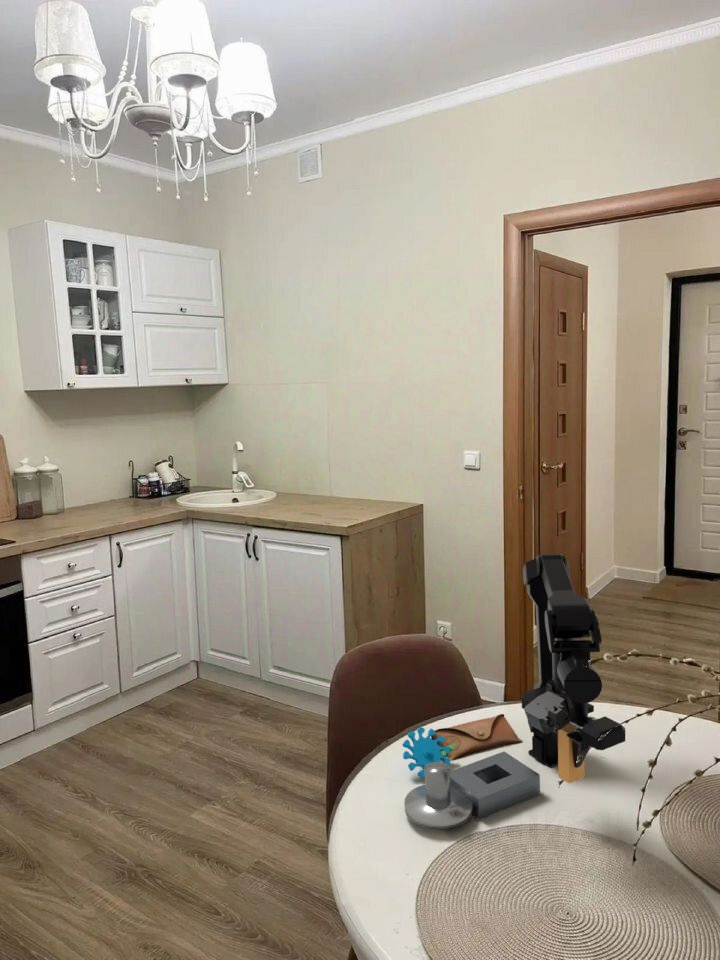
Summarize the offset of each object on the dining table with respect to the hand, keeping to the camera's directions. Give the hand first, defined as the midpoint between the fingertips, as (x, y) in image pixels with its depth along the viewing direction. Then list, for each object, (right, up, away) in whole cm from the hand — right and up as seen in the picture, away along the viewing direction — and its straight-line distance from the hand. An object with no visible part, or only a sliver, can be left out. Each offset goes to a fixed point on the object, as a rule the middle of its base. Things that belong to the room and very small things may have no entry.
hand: (571, 763), depth 126 cm
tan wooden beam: (0, -3, 0) cm, 3 cm away
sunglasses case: (-11, -8, +30) cm, 33 cm away
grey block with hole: (-16, -11, +9) cm, 21 cm away
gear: (-22, -9, +20) cm, 32 cm away
